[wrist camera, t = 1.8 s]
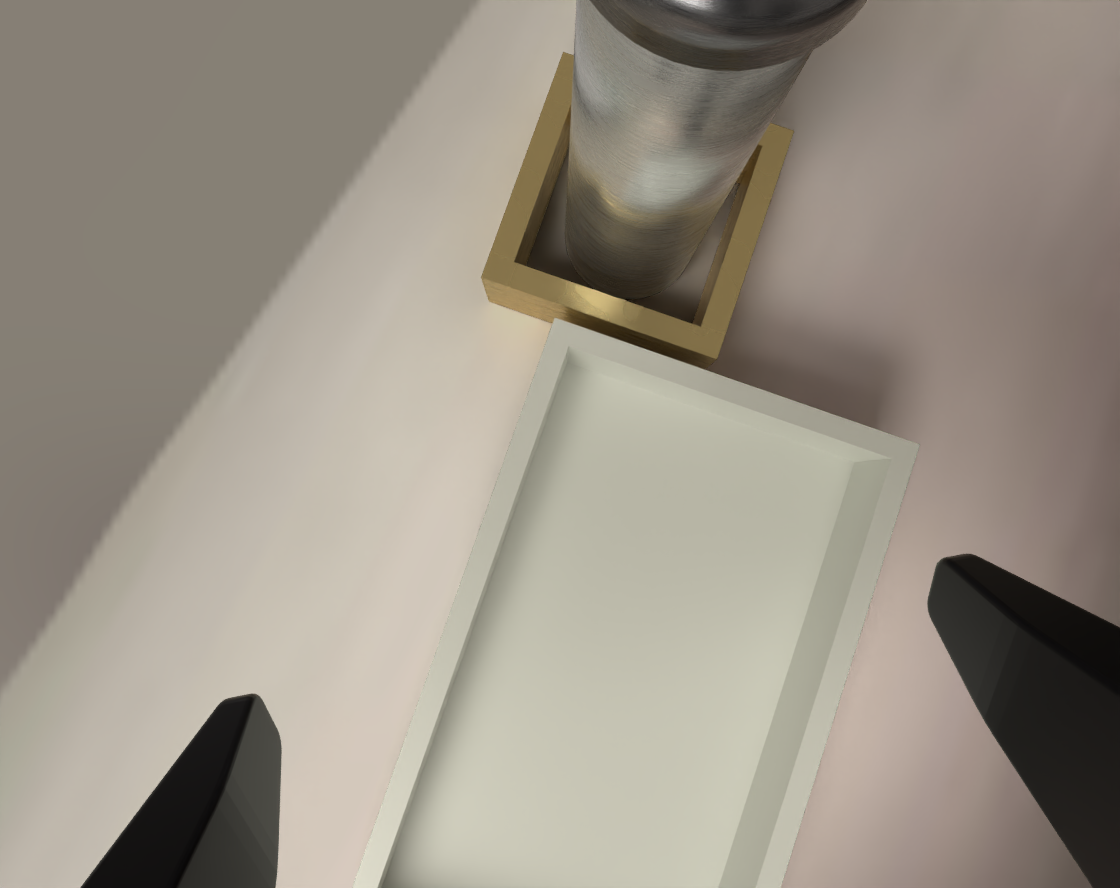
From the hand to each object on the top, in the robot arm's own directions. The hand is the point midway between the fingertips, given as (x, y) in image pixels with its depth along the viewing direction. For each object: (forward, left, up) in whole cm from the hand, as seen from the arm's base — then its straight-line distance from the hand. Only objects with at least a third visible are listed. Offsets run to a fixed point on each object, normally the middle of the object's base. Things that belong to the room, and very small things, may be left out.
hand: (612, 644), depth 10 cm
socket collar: (+2, -10, -13) cm, 16 cm away
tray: (-2, +3, -13) cm, 13 cm away
